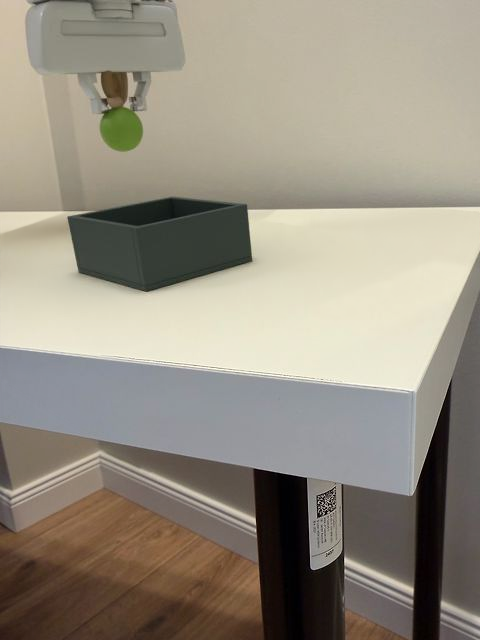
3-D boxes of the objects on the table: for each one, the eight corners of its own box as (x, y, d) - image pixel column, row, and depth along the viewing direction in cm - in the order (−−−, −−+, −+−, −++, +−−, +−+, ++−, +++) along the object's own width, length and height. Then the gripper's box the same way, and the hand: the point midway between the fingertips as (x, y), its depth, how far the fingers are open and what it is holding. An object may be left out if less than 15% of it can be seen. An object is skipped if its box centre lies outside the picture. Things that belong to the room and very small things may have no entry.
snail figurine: (155, 147, 88) (141, 47, 83) (135, 153, 83) (119, 46, 78) (118, 149, 89) (102, 50, 84) (96, 154, 84) (77, 49, 79)
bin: (78, 272, 65) (66, 216, 63) (179, 247, 73) (172, 196, 71) (146, 291, 57) (135, 228, 55) (252, 260, 65) (247, 204, 62)
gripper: (160, -5, 87) (172, 108, 93) (9, -14, 74) (34, 117, 80) (188, -11, 83) (199, 107, 88) (33, -22, 70) (58, 117, 76)
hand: (120, 112), depth 84 cm, fingers closed on snail figurine, 4 cm apart
